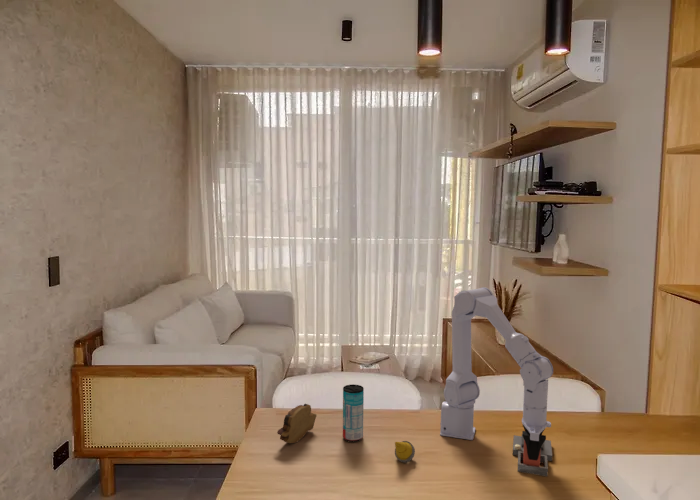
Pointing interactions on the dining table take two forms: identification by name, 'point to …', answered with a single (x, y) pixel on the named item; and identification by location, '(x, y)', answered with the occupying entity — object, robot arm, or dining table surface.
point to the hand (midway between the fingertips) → (532, 455)
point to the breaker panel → (519, 446)
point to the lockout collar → (531, 468)
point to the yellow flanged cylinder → (404, 451)
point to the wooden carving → (297, 423)
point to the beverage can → (353, 412)
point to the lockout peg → (527, 460)
